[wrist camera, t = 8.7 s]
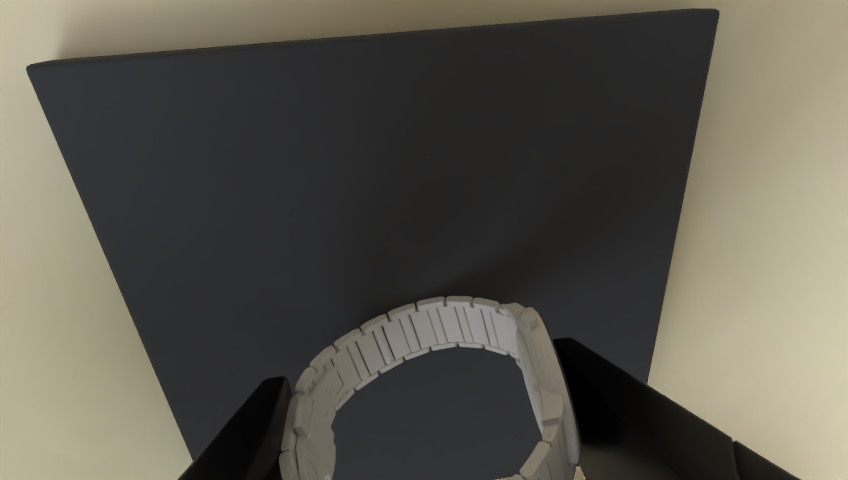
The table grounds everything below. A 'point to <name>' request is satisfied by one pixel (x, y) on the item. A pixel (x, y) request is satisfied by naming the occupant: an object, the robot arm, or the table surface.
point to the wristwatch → (452, 324)
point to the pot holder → (388, 211)
